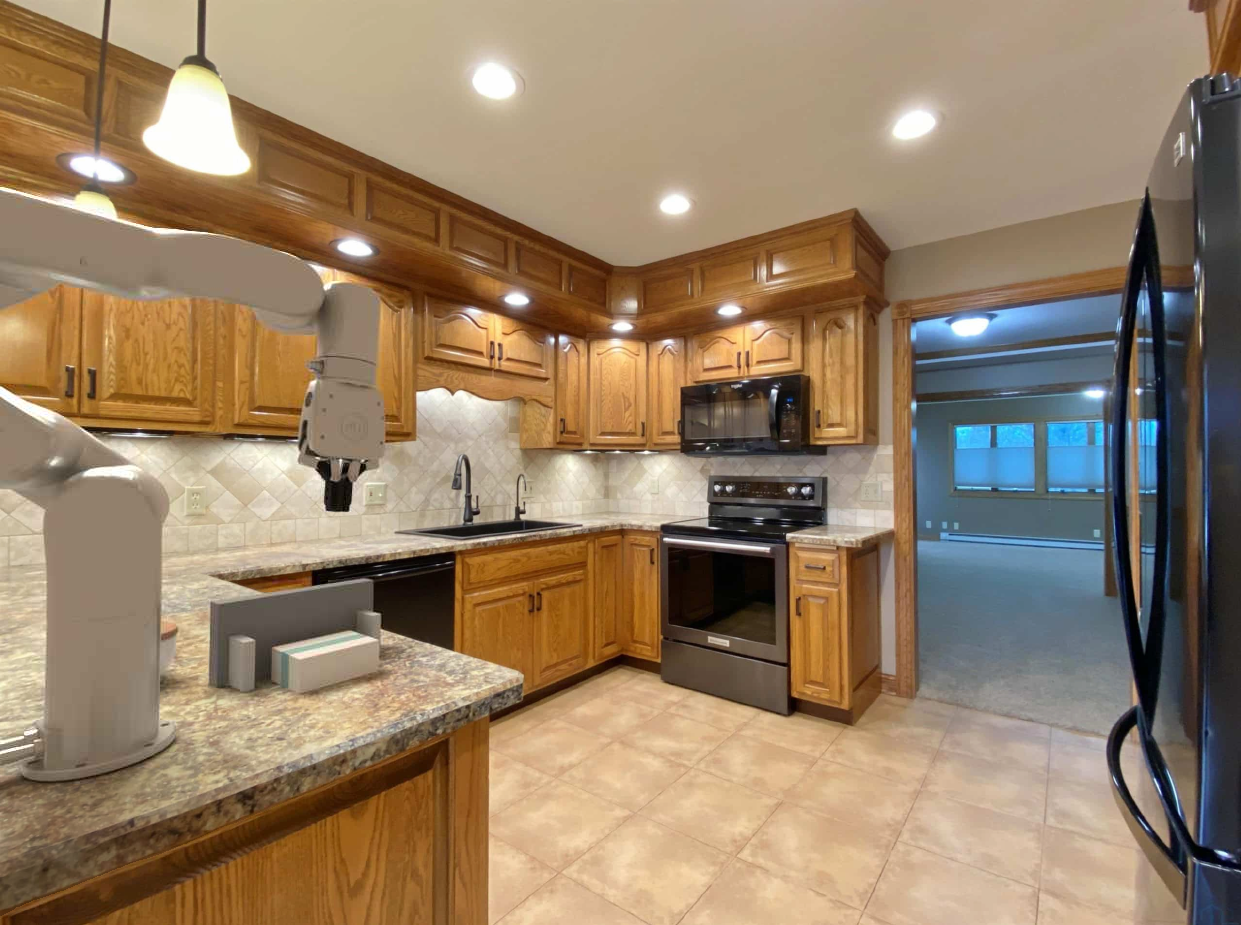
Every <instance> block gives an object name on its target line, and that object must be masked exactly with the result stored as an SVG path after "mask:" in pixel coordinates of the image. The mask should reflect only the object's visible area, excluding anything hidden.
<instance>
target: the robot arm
mask: <svg viewBox="0 0 1241 925" xmlns="http://www.w3.org/2000/svg"><path fill="white" fill-rule="evenodd" d="M60 285H64V286H67V287H73V288H76V289H82V290H85V291H89V292H94V293H100V294H102V295H108V296H111V297H116V298H121V299H126V300H130V301H134V302H141V303H144V302H145V303H149V302H150V303H153V302H154V303H155V302H162V301H166V300H171V299H177V298H199V299H201V298H202V299H209V300H214V301H215V300H216V301H221V302H227V303H231V304H235V305H241V306H244V307H249V308H252V312H253V314H254V316H255V318H256V319H257V320H258V322H259V323H261V324H262V325H263V326H264V327H265V328H267V329H269V330H271V331H273V332H275V333H280V334H284V335H296V336H298V335H299V336H317V344H316V356H315V357H316V358H314V360H307V361H306V362H305V370H306V371H310V372H312V373H313V379H314V380H311V381H309V385H308V387H307V390H306V393H305V396H304V400H303V404H302V409H301V414H300V418H299V427H298V433H297V434H298V437H297V438H298V439H297V448H298V451H299V455H298V458H297V463H298V464H299V465H301V466H304V467H307V468H311V469H314V470H315V471H316V473H318V474H319V476H320V479H321V481H324V494H323V504H324V506H325V509H324V510H325V511H326V512H331V513H348V512H350V508H351V507H350V506H351V505H352V502H353V487H354V486H353V485H354V483H356V482H357V481H358V478H359V477H360V476H361V475H362V474H363V473H364V472H368V471H372V470H377V469H379V467H380V463H379V461H380V460H381V459H383V457H384V456H385V452H386V451H385V450H386V415H385V404H384V400H383V399H384V398H383V392H382V390H381V389H376V387H377V373H378V372H377V371H378V359H379V358H378V357H379V341H380V327H381V326H380V324H381V313H382V312H381V311H382V301H381V297H380V296H379V294H378V293H377V292H376V291H375V290H374V289H373V288H370V287H369V286H366V285H364V284H360V283H355V282H351V281H331V282H329V283H327V284H325V285H324V282H323V279H322V277H321V276H320V274H319V273H318V271H316V269H315V268H313V266H312V265H311V264H309V263H307V261H305V260H303V259H301V258H300V257H297V256H295V255H292V254H290V253H287V252H284V251H281V250H278V249H276V248H271V247H268V246H265V245H262V244H257V243H255V242H252V241H251V242H250V241H247V240H244V239H240V238H237V237H233V236H227V235H223V234H216V233H209V232H204V231H203V232H202V231H201V232H200V231H189V230H181V229H171V228H155V227H150V226H149V227H148V226H145V225H142V224H138V223H133V222H130V221H126V220H123V219H120V218H119V219H118V218H115V217H111V216H108V215H104V214H102V213H101V214H100V213H97V212H94V211H90V210H86V209H82V208H79V207H76V206H72V205H68V204H64V203H61V202H57V201H54V200H50V199H47V198H43V197H39V196H35V195H32V194H29V193H24V192H21V191H17V190H13V189H10V188H6V187H0V312H2V311H3V310H6V309H9V308H12V307H14V306H16V305H20V304H22V303H25V302H26V301H29V300H31V299H34V298H36V297H38V296H40V295H42V294H44V293H45V294H46V292H49V291H51V290H53V289H54V288H56V287H58V286H60ZM340 461H341V463H340ZM0 490H11V491H13V492H15V494H18V495H20V496H21V497H23V498H25V499H26V500H28V501H30V502H31V503H33V504H34V505H36V506H38V507H39V508H42V510H44V513H43V514H44V515H43V519H42V523H43V524H42V534H43V536H42V537H43V545H44V546H43V547H44V555H45V556H44V557H45V570H46V600H45V601H46V604H45V605H46V606H45V608H46V610H45V613H46V614H45V619H46V628H45V629H46V631H45V633H46V635H45V638H46V639H45V668H44V670H45V672H44V699H43V700H44V701H43V702H44V703H43V704H44V705H43V706H44V708H43V709H44V710H43V718H39V719H36V720H34V728H32V729H29V730H23V731H22V733H21V735H20V736H16V737H12V738H8V739H0V767H3V766H5V765H10V764H13V763H17V762H19V761H21V766H20V767H21V768H20V769H21V770H20V771H21V775H22V776H23V777H24V778H26V779H29V780H31V781H39V782H61V781H70V780H78V779H83V778H88V777H94V776H97V775H102V774H106V773H109V772H112V771H116V770H119V769H123V768H126V767H129V766H132V765H133V764H136V763H139V762H141V761H144V760H147V758H150V757H152V756H154V755H156V754H158V753H159V752H161V751H163V750H164V749H166V748H167V747H169V745H171V743H172V742H173V741H174V740H175V738H176V730H177V728H176V725H175V723H173V722H172V721H170V720H167V719H162V718H160V693H161V688H160V687H161V676H160V656H161V622H162V607H163V605H162V593H163V592H162V591H163V590H162V589H163V588H162V587H163V574H162V572H163V558H162V557H163V543H162V542H163V525H164V523H165V521H166V519H167V518H168V515H169V512H170V498H169V494H168V492H167V490H166V488H165V487H164V486H163V484H162V483H161V482H160V481H159V480H158V478H155V476H153V475H151V474H150V473H149V472H147V471H146V470H144V469H143V468H141V467H140V466H139V465H137V464H135V463H134V462H133V461H131V460H130V459H128V458H126V456H124V455H123V454H121V453H119V452H117V451H116V450H115V449H113V448H112V447H110V446H109V445H107V444H106V443H105V442H103V441H101V440H100V439H99V438H97V437H95V436H94V434H91V433H90V432H88V431H87V430H85V429H84V428H83V427H81V426H80V425H78V424H76V423H75V422H73V421H71V419H68V418H67V417H65V416H63V415H62V414H59V412H58V413H57V412H56V411H53V410H50V409H48V408H46V407H45V408H44V407H42V406H40V405H37V404H34V403H31V402H29V401H26V400H25V399H22V398H20V397H19V396H17V395H15V394H13V393H12V392H11V391H9V390H7V389H6V388H4V387H2V386H1V385H0Z"/></svg>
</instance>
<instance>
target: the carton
mask: <svg viewBox="0 0 1241 925" xmlns="http://www.w3.org/2000/svg"><path fill="white" fill-rule="evenodd" d="M379 659H380V655H379V640H377V639H374V638H371V637H368V636H366V635H363V634H359V633H356V632H353V631H350V630H349V631H344V632H340V633H335V634H331V635H326V636H322V637H317V638H312V639H308V640H303V641H299V642H294V643H290V644H285V645H281V646H276V647H272V666H271V675H270V680H271V681H272V682H274V683H276V684H278V685H280V686H282V687H284V688H286V689H288V690H290V691H293V692H294V693H296V694H298V695H300V694H303V693H308V692H310V691H311V692H312V691H314V690H317V689H322V688H325V687H327V686H331V685H336V684H338V683H342V682H345V681H348V680H352V679H356V678H360V677H361V676H366V675H369V674H373V673H377V672H379V671H380V670H379V668H380V666H379V665H380V662H379V661H380V660H379Z"/></svg>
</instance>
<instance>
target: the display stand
mask: <svg viewBox="0 0 1241 925" xmlns="http://www.w3.org/2000/svg"><path fill="white" fill-rule="evenodd" d="M209 611H210V612H209V613H210V614H209V650H208V651H209V652H208V653H209V654H208V656H209V658H208V684H210V685H211V686H213V687H215V688H219V687H224V686H230V687H232V688H234V689H236V690H238V691H240V692H242V693H245V692H250V691H253V690H255V683H256V682H255V679H256V678H259V677H263V676H267V675H270V674H271V666H272V647H276V646H281V645H285V644H290V643H294V642H299V641H303V640H308V639H312V638H317V637H322V636H326V635H331V634H335V633H340V632H344V631H349V630H350V631H353V632H356V633H359V634H363V635H366V636H368V637H371V638H374V639H377V640H379V656H381V636H382V635H381V631H382V630H381V627H382V626H381V625H382V623H381V622H382V614H381V613H378V612H374V580H373V579H369V578H359V579H358V578H357V579H353V580H344V581H338V582H333V583H332V582H331V583H325V584H317V585H312V586H306V587H305V586H304V587H298V588H293V589H284V590H279V591H272V592H265V593H257V594H251V595H243V596H238V597H232V598H224V599H218V600H217V599H216V600H211V601H210V607H209Z"/></svg>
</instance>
